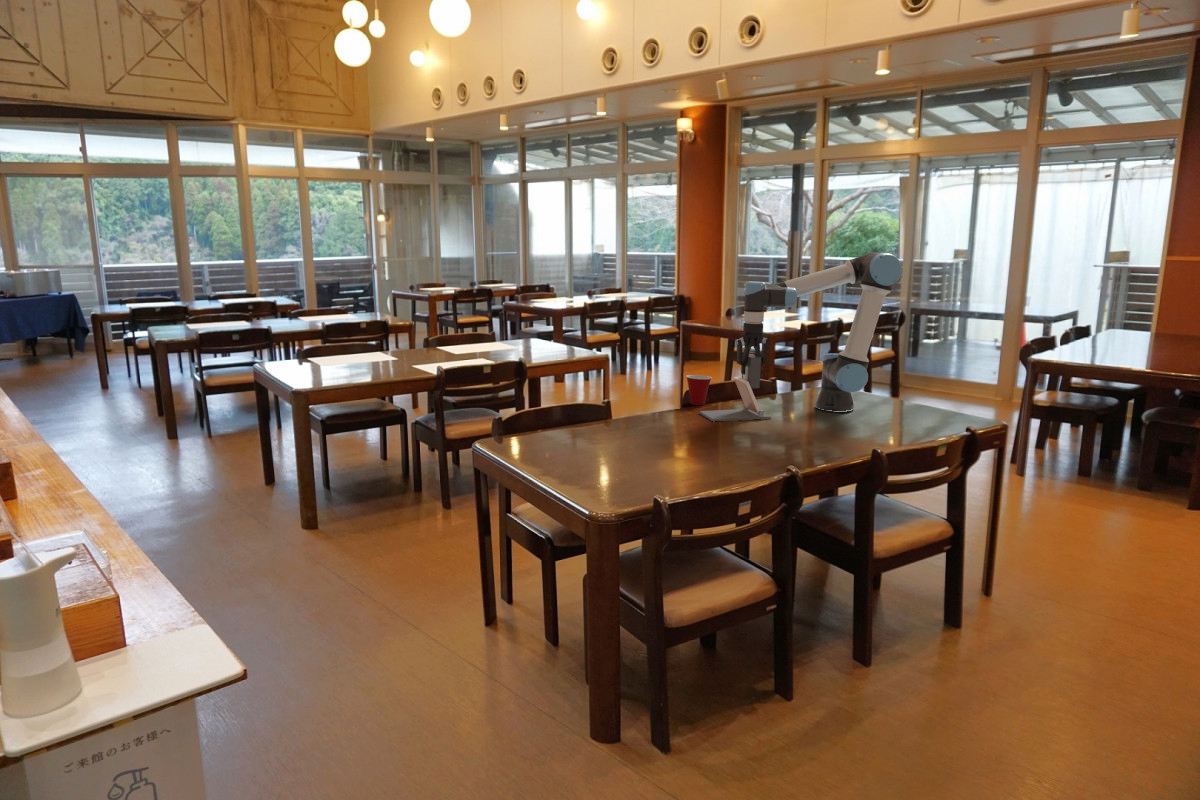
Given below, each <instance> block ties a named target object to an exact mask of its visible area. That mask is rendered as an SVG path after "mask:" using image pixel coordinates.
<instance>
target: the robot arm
mask: <svg viewBox="0 0 1200 800" xmlns="http://www.w3.org/2000/svg"><path fill="white" fill-rule="evenodd" d="M902 271H903V268H902V263H901V261H900V259H899V258H898V257H897V256H896V255H894V254H892V253H888V252H879V251H878V252H877V251H874V252H873V251H872V252H868V253H865V254H862V255H860V256H859V255H858V256H857V257H854V258H850V259H849V260H846V261H845V262H844V263H843V264H841V265H837V266H833V267H830V268H827V269H826V268H825V269H823V270H820V271H815V272H813V273H807V274H806V275H805V274H804V275H802V276H798V277H795V278H792V279H789V280H785V281H782V282H778V283H771V284H767V285H766V283H765V282H764V281H747V283H746V284H745V290H744V309H743V310H744V311H743V325H742V326H743V329H742V330H743V331H742V336H741V337H740V338H739V339H738V338H736V339H735V343H736V364H738V365H740V368H741V369H740V373H741V375H742V374H743V379H744V380H746V381H747V378H748V366H746V364H747V360H748V356H749V354H750V352H751V350H752V347H753V350H754V355H756V356H759V357H761V367H763V365H765V364H767V360H768V359H767V357H768V347H769V346H768V345H769V343H770V338H767V337H764V323H763V322H764V320H765V319H764V318H765V308H794V307H795V306H796V305H797V301H798V298H799V297H803V296H806V295H810V294H814V293H817V292H820V291H824V290H828V289H831V288H835V287H839V286H842V285H845V284H849V283H850V284H851V285H854V284H859V283H860V284H859V285H860V287H861V289H862V291H861V294H860V298H859V301H858V303H857V307H856V310H855V314H854V317H853V320H852V323H851V327H850V330H849V334H848V336H847V340H846V343H845V346H844V350H841V351H840V352H839V353H824V354H823V357H822V358H823V359H822V370H821V381H820V382H821V383H820V384H821V385H820V391H819V394H818V395H817V398H816V400H815V406H816V407H817V408H820V409H824V410H832V411H846V410H851V409H853V408H854V400H853V395H852V393H857V392H859V391H861V390H863V388H865V386H866V385H867V383H868V381H869V373H868V371H867V368H868V366H869V362H870V359H869V358H868V353H869V349H870V347H871V346H870V345H871V344H872V343H871V342H872V339H873V336H874V333H875V329H876V328H877V323H878V320H879V317H880V314H881V310H882V309H883V308H882V307H883V304H884V302H885V298H886V296H887V295H888V294H891V292H892V291H893V287H894V284H896V283H897V282H898V280H900V278H901V276H902V273H903V272H902ZM761 342H762V343H761ZM743 344H744V350H743ZM761 373H762V368H761V369H760V374H761ZM815 406H814V407H815ZM853 410H854V409H853Z"/></svg>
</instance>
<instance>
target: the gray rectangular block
mask: <svg viewBox="0 0 1200 800" xmlns="http://www.w3.org/2000/svg"><path fill="white" fill-rule="evenodd" d="M746 366H748V378H747V381H748V382H749V384H750V387H751V389H760V387H761V386H760V384H761V373H760V369H761V370H762V366H761V357H759V356H756V355H755V354H753V353H749V356H748V360H747V364H746ZM741 379H743V374H741Z"/></svg>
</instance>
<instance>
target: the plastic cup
mask: <svg viewBox="0 0 1200 800" xmlns="http://www.w3.org/2000/svg"><path fill="white" fill-rule="evenodd" d="M685 377H686V380H687V387H688V394H689V395H688V396H689V401H690V404H691V405H693V406H704V405H705V404H706V400H707V396H708V393H709V392H708V391H709V386H710V383H711V380H712V379H713V377H712V376H710V375H709V376H708V375H700V374H699V375H698V374H687V375H685ZM691 390H692V391H691Z"/></svg>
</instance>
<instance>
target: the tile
mask: <svg viewBox="0 0 1200 800" xmlns="http://www.w3.org/2000/svg"><path fill="white" fill-rule="evenodd" d="M733 378H734V382H735V384H736V387H737V390H738V391H739V394H740V397H741V399H742V401H743V404H745V406H746V408H747V409H749V410H751V411H753V412H755V413H757V414H759V410H761V409H760V407H759V405H758V400H757V399H756V397H755V394H754V392H753V388H751V387H750V384H749V382H748V381H746V380H744V379H742V377H739V376H734V377H733Z"/></svg>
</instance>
